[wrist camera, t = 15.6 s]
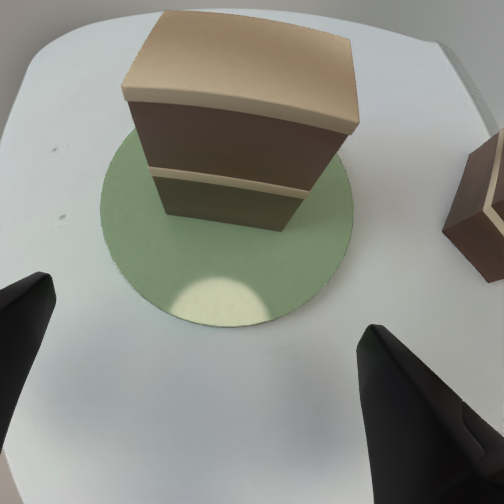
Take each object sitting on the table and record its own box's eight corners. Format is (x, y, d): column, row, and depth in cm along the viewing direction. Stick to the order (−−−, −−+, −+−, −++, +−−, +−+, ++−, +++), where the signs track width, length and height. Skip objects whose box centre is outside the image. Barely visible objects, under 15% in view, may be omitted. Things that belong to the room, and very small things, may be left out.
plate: (306, 364, 17) (311, 365, 16) (66, 266, 16) (58, 262, 15) (365, 150, 21) (371, 142, 20) (172, 80, 20) (171, 71, 19)
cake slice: (282, 233, 17) (360, 123, 7) (164, 215, 17) (119, 86, 7) (288, 168, 18) (350, 38, 8) (180, 151, 18) (164, 9, 8)
